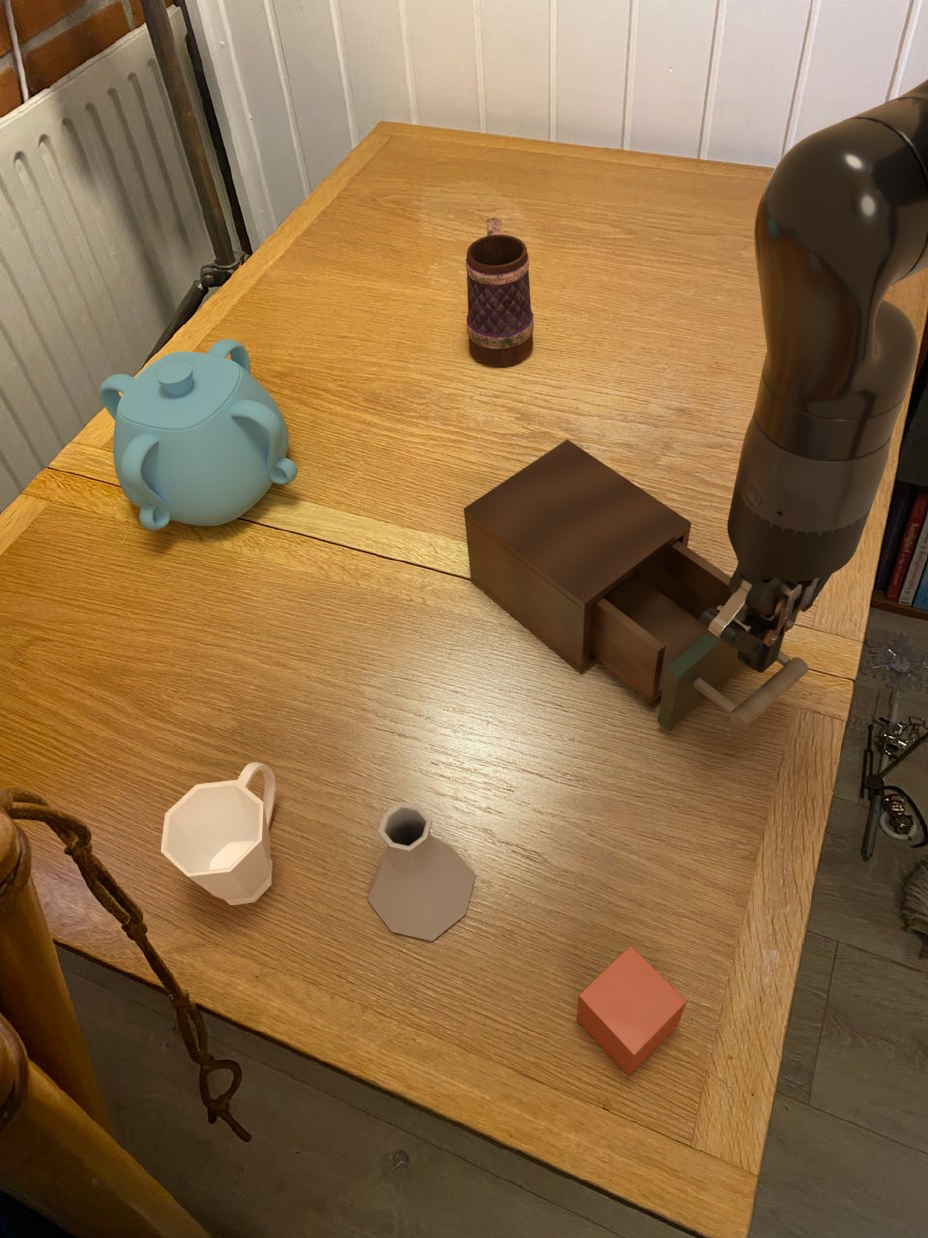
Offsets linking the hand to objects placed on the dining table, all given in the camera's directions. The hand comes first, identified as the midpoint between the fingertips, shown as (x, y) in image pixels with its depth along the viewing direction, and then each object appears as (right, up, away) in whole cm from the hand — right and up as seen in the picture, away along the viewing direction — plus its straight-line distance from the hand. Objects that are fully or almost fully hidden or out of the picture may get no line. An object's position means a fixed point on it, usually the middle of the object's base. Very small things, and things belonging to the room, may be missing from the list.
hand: (756, 660), depth 67 cm
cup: (-36, -14, +2) cm, 39 cm away
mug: (-17, +33, +37) cm, 53 cm away
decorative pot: (-45, +16, +27) cm, 55 cm away
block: (-10, -23, -7) cm, 26 cm away
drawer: (-4, -1, +8) cm, 9 cm away
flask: (-23, -16, -1) cm, 28 cm away
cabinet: (-11, +5, +15) cm, 19 cm away
